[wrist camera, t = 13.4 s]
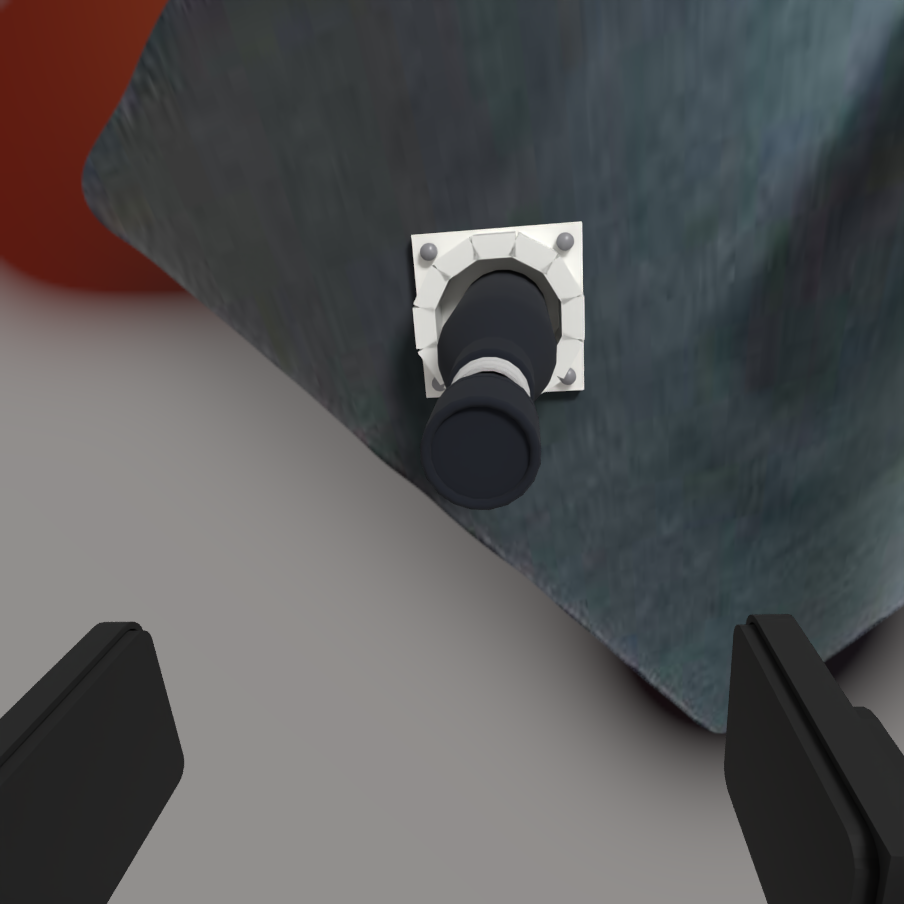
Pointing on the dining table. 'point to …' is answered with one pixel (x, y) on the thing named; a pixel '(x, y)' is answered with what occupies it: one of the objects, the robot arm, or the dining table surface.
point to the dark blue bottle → (490, 393)
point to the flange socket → (511, 248)
